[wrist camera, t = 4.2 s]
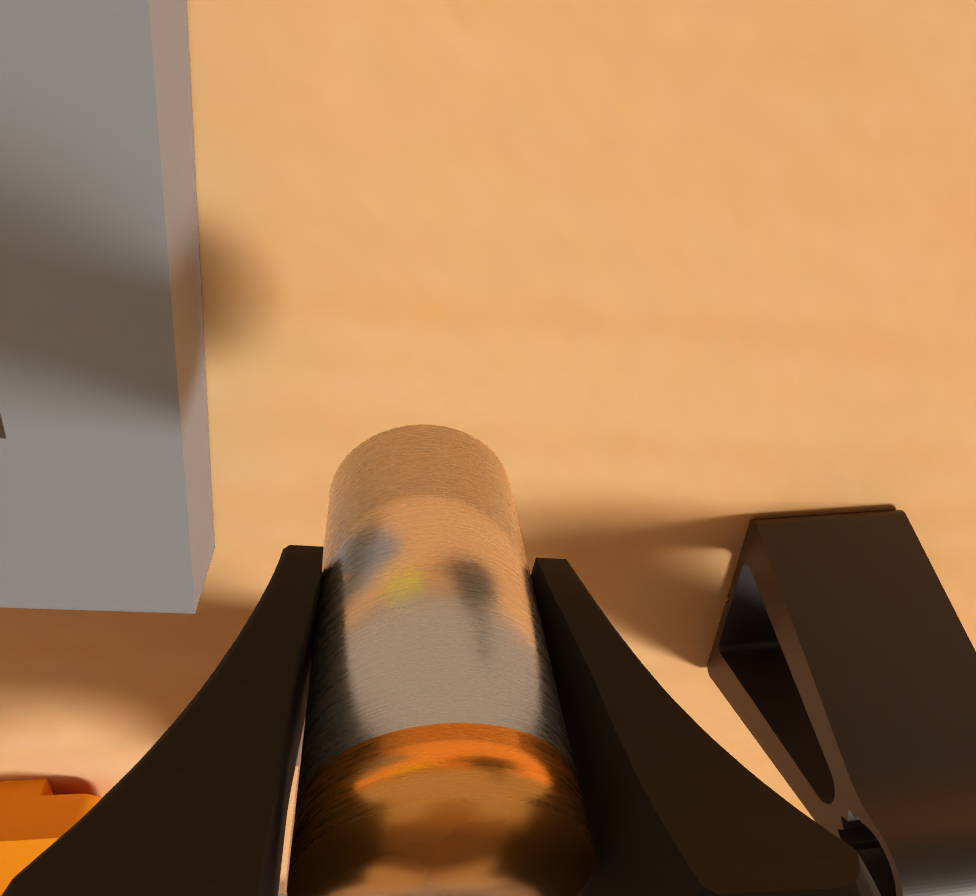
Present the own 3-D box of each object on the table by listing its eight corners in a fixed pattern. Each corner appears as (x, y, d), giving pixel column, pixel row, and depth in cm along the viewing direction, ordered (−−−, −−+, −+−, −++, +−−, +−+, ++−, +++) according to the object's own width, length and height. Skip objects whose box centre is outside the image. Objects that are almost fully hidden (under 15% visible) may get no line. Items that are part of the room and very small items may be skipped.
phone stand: (751, 514, 27) (962, 840, 17) (899, 505, 27) (1185, 814, 18) (704, 668, 32) (845, 985, 22) (830, 657, 32) (1021, 961, 23)
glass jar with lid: (492, 569, 17) (557, 941, 11) (325, 562, 16) (283, 958, 10) (526, 432, 15) (632, 796, 9) (334, 416, 14) (289, 802, 8)
